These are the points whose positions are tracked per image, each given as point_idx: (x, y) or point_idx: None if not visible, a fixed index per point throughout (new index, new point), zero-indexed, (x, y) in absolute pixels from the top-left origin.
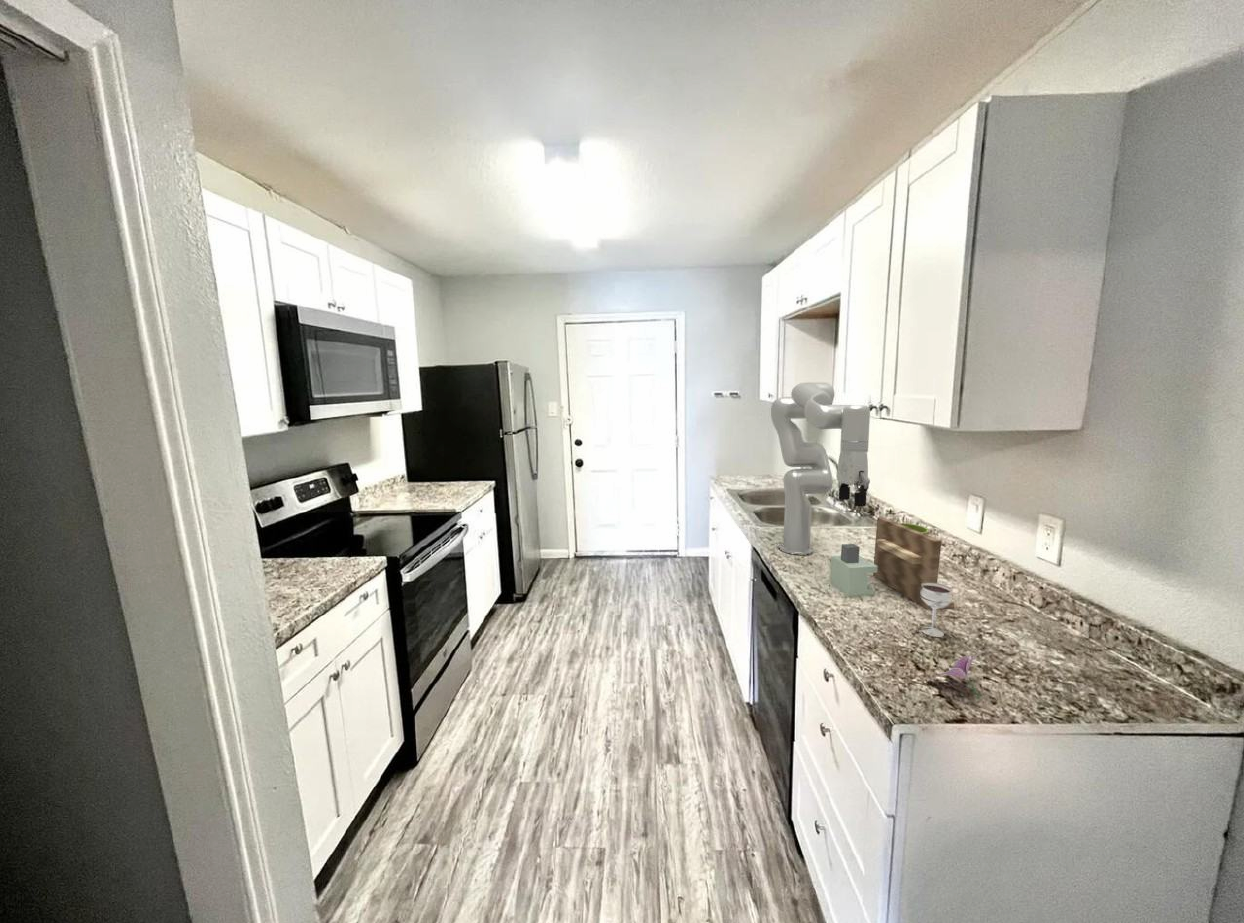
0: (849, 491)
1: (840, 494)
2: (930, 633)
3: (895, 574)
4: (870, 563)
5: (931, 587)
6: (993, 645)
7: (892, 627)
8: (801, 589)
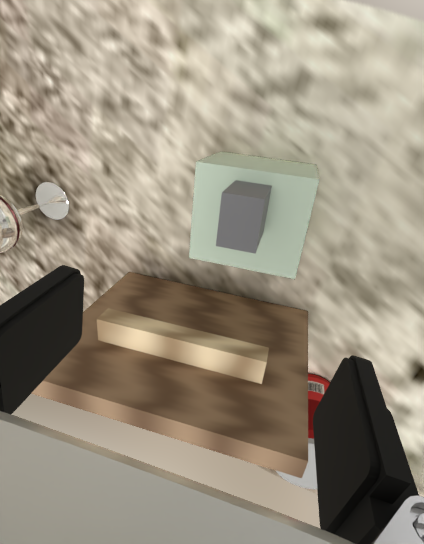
0: (319, 485)
1: (354, 394)
2: (41, 189)
3: (217, 312)
4: (213, 256)
5: (8, 240)
6: (15, 256)
7: (68, 135)
8: (306, 24)
